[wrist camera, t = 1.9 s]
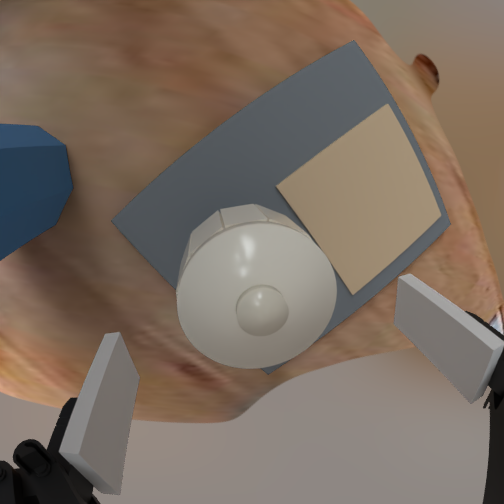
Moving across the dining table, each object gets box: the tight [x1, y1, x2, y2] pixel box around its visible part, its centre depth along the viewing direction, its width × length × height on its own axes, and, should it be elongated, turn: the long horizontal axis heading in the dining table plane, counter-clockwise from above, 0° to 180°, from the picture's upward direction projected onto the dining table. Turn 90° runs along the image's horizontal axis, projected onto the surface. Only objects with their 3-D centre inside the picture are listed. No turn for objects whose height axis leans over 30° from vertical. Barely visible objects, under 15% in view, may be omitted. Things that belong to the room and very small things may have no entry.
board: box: [111, 40, 451, 374], centre depth 20 cm, size 20×24×9 cm
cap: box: [176, 204, 337, 369], centre depth 16 cm, size 8×8×6 cm
